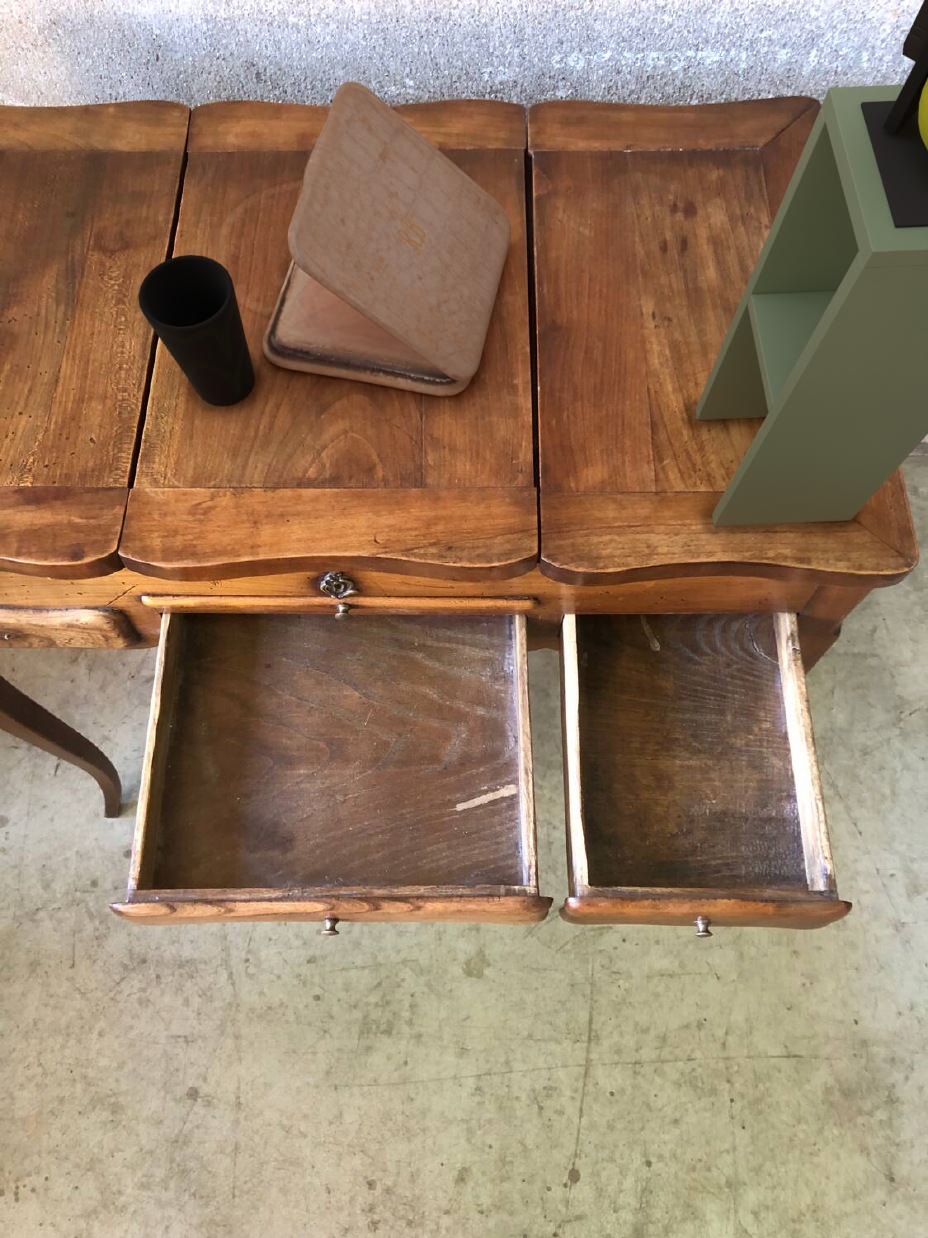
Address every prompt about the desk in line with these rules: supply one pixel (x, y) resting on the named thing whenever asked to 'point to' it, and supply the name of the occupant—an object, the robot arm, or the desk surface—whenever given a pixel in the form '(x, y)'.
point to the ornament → (924, 114)
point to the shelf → (832, 323)
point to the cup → (200, 326)
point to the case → (387, 257)
